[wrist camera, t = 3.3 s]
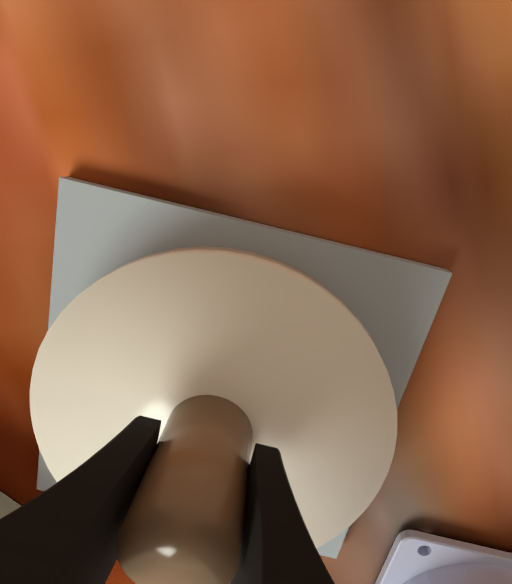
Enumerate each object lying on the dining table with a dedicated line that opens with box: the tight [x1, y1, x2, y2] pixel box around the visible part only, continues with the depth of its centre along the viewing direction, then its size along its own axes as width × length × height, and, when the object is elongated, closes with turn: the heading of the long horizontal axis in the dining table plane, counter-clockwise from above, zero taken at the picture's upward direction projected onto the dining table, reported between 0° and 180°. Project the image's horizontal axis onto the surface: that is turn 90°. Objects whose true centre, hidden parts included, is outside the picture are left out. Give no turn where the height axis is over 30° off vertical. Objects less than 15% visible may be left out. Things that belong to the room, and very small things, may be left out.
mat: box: [37, 177, 452, 559], centre depth 14 cm, size 12×12×1 cm
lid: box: [30, 246, 397, 584], centre depth 11 cm, size 11×11×5 cm
